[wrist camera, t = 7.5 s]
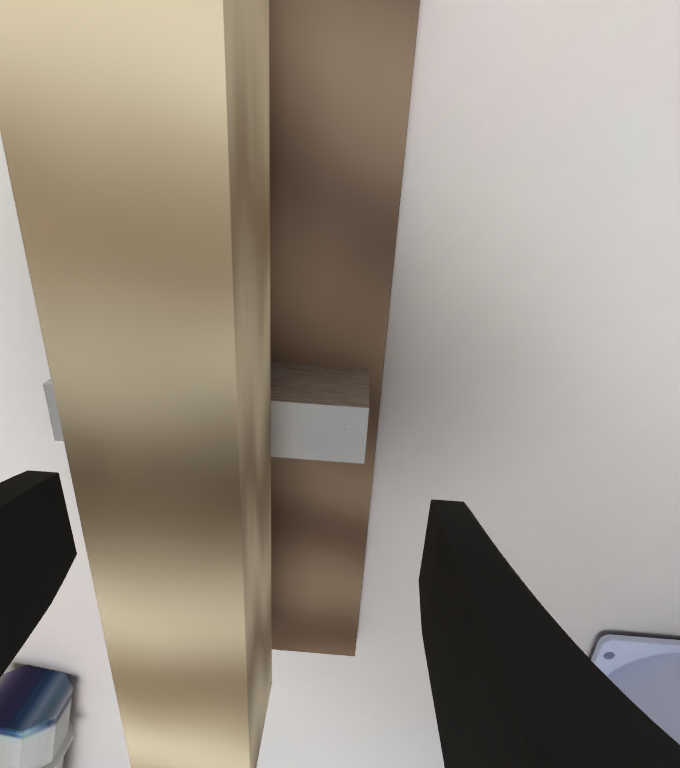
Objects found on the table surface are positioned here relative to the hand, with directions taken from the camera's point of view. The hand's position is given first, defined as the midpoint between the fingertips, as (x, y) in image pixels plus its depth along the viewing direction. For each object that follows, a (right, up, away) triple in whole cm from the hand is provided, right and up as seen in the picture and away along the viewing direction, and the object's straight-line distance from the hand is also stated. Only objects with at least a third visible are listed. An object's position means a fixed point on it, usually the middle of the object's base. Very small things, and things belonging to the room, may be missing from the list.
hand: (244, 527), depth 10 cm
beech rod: (-2, +1, +6) cm, 7 cm away
